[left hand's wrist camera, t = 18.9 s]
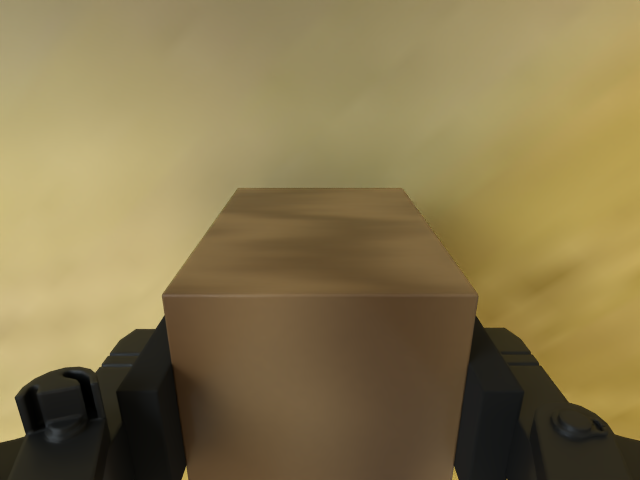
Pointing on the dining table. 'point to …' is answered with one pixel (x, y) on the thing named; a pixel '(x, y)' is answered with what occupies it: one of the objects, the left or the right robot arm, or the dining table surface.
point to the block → (320, 340)
